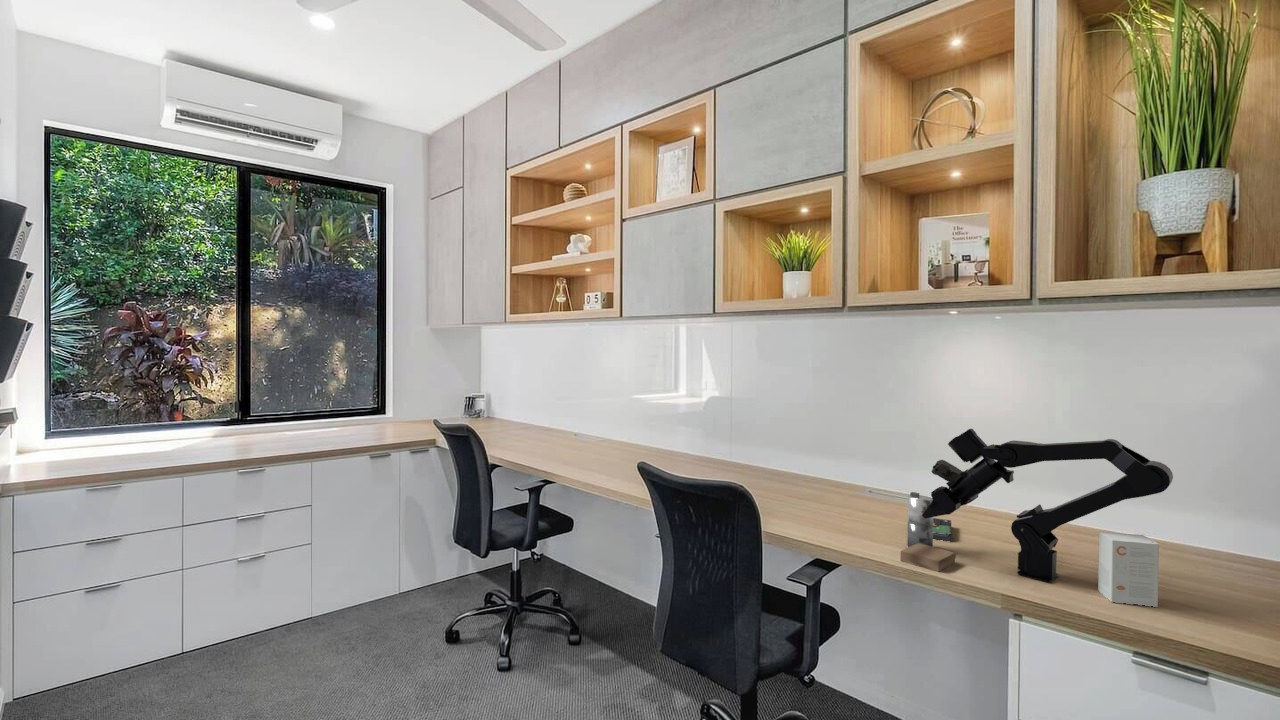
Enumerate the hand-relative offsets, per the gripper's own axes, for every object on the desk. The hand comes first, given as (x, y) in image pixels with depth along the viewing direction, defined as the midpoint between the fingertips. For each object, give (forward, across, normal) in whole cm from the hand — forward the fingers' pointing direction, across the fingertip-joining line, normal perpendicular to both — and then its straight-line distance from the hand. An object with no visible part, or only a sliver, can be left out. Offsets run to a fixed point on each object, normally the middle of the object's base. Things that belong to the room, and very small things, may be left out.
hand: (929, 513), depth 153 cm
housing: (+8, 0, +5) cm, 10 cm away
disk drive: (+11, -16, +4) cm, 20 cm away
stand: (+5, +10, +9) cm, 14 cm away
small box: (-22, +2, +35) cm, 41 cm away
